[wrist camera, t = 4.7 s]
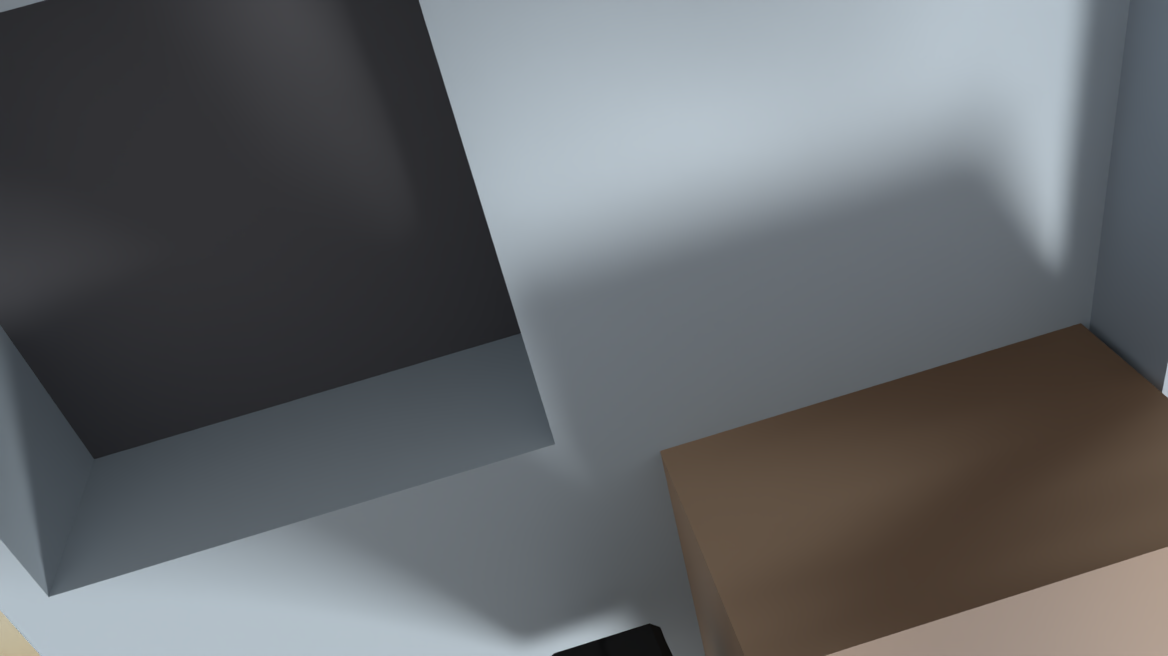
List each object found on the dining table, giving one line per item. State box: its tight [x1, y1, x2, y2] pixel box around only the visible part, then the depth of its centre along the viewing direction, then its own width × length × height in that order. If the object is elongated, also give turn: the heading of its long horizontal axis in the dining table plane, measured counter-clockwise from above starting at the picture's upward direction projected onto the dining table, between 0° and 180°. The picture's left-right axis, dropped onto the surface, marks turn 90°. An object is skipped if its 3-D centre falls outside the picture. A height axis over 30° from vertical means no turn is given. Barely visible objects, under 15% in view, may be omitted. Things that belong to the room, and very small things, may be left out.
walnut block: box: [660, 323, 1168, 656], centre depth 11 cm, size 5×5×3 cm
